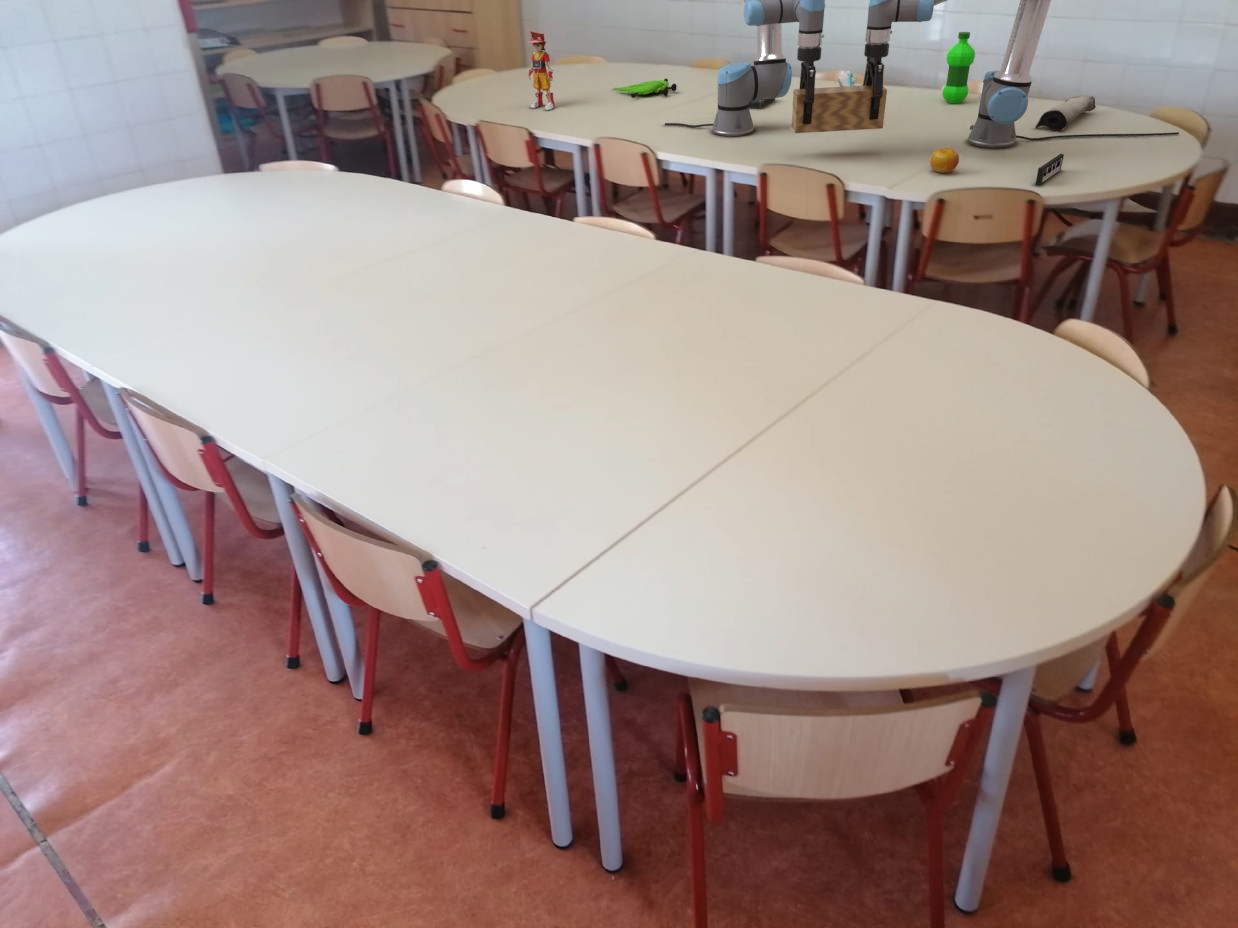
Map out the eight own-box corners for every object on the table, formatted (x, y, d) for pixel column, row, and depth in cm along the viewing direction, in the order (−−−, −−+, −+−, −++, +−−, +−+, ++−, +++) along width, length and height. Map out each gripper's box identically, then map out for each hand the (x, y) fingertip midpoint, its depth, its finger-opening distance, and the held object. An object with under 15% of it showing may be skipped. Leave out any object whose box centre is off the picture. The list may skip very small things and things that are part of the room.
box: (795, 133, 299) (797, 94, 292) (791, 127, 305) (793, 89, 298) (882, 128, 298) (887, 89, 291) (877, 122, 304) (881, 84, 297)
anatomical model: (833, 70, 374) (857, 63, 373) (835, 95, 380) (859, 89, 379) (843, 78, 362) (868, 71, 361) (846, 104, 367) (870, 97, 367)
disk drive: (760, 109, 361) (775, 100, 371) (761, 102, 360) (776, 93, 370) (737, 107, 366) (752, 98, 376) (737, 100, 364) (753, 91, 374)
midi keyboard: (1039, 185, 269) (1043, 168, 266) (1035, 184, 270) (1038, 168, 267) (1060, 170, 279) (1064, 154, 277) (1056, 169, 280) (1060, 153, 277)
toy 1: (525, 109, 381) (517, 32, 364) (534, 104, 388) (527, 28, 371) (550, 110, 377) (543, 32, 360) (559, 105, 384) (553, 28, 367)
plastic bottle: (973, 101, 354) (984, 32, 339) (955, 106, 349) (966, 36, 335) (952, 97, 361) (962, 29, 346) (934, 102, 356) (944, 33, 342)
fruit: (924, 163, 281) (941, 140, 278) (925, 165, 289) (941, 143, 286) (946, 178, 280) (963, 155, 277) (947, 180, 288) (963, 158, 285)
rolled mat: (1063, 100, 336) (1087, 83, 328) (1076, 121, 336) (1101, 104, 328) (1031, 122, 319) (1056, 104, 310) (1045, 143, 319) (1071, 126, 311)
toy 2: (686, 85, 398) (631, 84, 414) (685, 72, 395) (629, 72, 411) (651, 104, 381) (596, 103, 397) (650, 92, 378) (594, 91, 394)
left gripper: (827, 52, 278) (821, 128, 291) (816, 40, 295) (811, 112, 308) (803, 53, 279) (798, 129, 292) (793, 41, 296) (789, 113, 309)
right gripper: (898, 49, 277) (889, 123, 289) (881, 36, 295) (873, 106, 308) (873, 50, 277) (866, 124, 290) (858, 37, 296) (851, 107, 308)
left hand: (804, 120), depth 300 cm, fingers closed on box, 8 cm apart
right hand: (869, 115), depth 299 cm, fingers open, 10 cm apart
